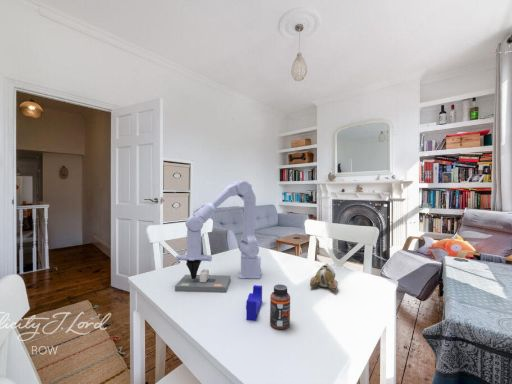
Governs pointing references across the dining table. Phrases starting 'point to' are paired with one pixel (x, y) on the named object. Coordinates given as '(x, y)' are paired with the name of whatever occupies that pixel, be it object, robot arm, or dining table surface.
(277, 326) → the supplement bottle
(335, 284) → the ceramic sculpture
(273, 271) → the dining table surface
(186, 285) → the switch panel
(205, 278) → the knob
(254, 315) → the blue stepped block
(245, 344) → the dining table surface
